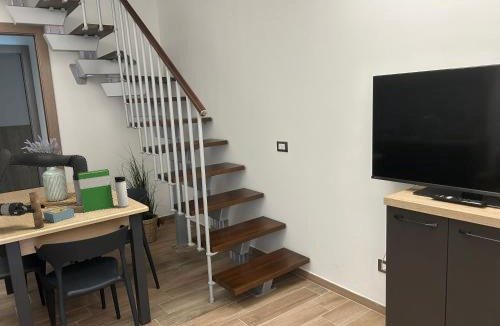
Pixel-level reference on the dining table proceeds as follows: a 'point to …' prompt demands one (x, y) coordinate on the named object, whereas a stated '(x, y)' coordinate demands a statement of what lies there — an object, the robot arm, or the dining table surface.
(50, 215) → the socket block
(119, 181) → the travel mug
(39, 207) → the peg
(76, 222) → the dining table surface
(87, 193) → the hardback book
